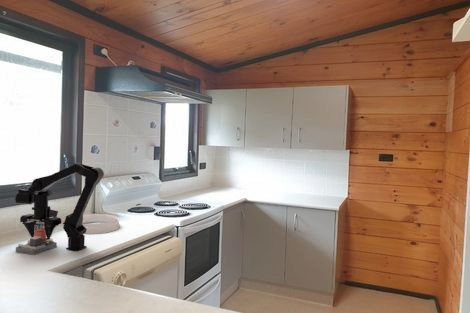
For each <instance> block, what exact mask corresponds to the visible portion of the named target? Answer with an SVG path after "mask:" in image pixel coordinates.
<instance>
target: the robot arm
mask: <svg viewBox="0 0 470 313" xmlns="http://www.w3.org/2000/svg"><path fill="white" fill-rule="evenodd" d="M75 174H78V175H80V176H83V177H84V186H83V189H82V191H81V193H80V196H79V198H78V200H77V202H76V205H75V207H74V209H73V211H72V213H70V214H68V215H66V216H65V219H64V221H63V222H62V218H61V217H59V216H58V215H59V210H54V209H51V206H49V196H53V195H54V193H53V192H52V191H51V190H50V189H49V188H50V187H53V186H54V185H55V183H57V182H59V181H62V180H63V179H66V178H69V177H70V176H73V175H75ZM104 175H105V172H104V170H103V169H102V168H101V167H93V166H90V165H86V164H83V163H81V162H78V163H77V162H76V163H73V164H71V165H70V166H67V167H65V168H63V169H62V170H58V171H57V172H55V173H53V174H50V175H46V176H42V177H38V178H35V179H33V180H32V183H31V185H30V187H29V188H28V189H25V188H24V189H23V188H21V189H18V192H17V193H16V196H15V203H16V204H17V205H32V204H33V206H32V207H31V211H33V214H32V213H28V214H23V215H21V216H20V218H19V221H20V223H22V225H24V227H25V229H26V230H27V232H28V233H29V235H30V237H31V238H32V237H35V224H36V222H37V221H38V222H45V224H46V226H45V231H46V238H47V240H48V239H50V238H51V237H52V234H53V232H54V230H55V228H56V227H57V226H59V225H60V224H62V225H63V227H62V228H63V230H64V232H65V234H66V236H67V241H68V242H67V247H65V249H66V250H68V251H75V252H78V251H81V250H83V249H85V248H87V245H85V236H86V234H84V233H86V230H87V229H86V228H85V227H84V226H83V225H82V224H83V223H82V222H83V215H84V213H85V211H86V208H87V206H88V204H89V202H90V200H91V197H92V195H93V192H94V190H95V189H96V186H97V185H98V184H99V183H100V182H101V180H102V178H104ZM44 190H46V191H44ZM38 219H39V220H38Z"/></svg>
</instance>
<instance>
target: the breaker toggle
mask: <svg viewBox="0 0 470 313" xmlns="http://www.w3.org/2000/svg"><path fill="white" fill-rule="evenodd" d="M29 240H30V246H35V247H36V246H39V245H42V238H41V237H38V236H36V237H35V236H34V237H31V238H30V239H29Z"/></svg>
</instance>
